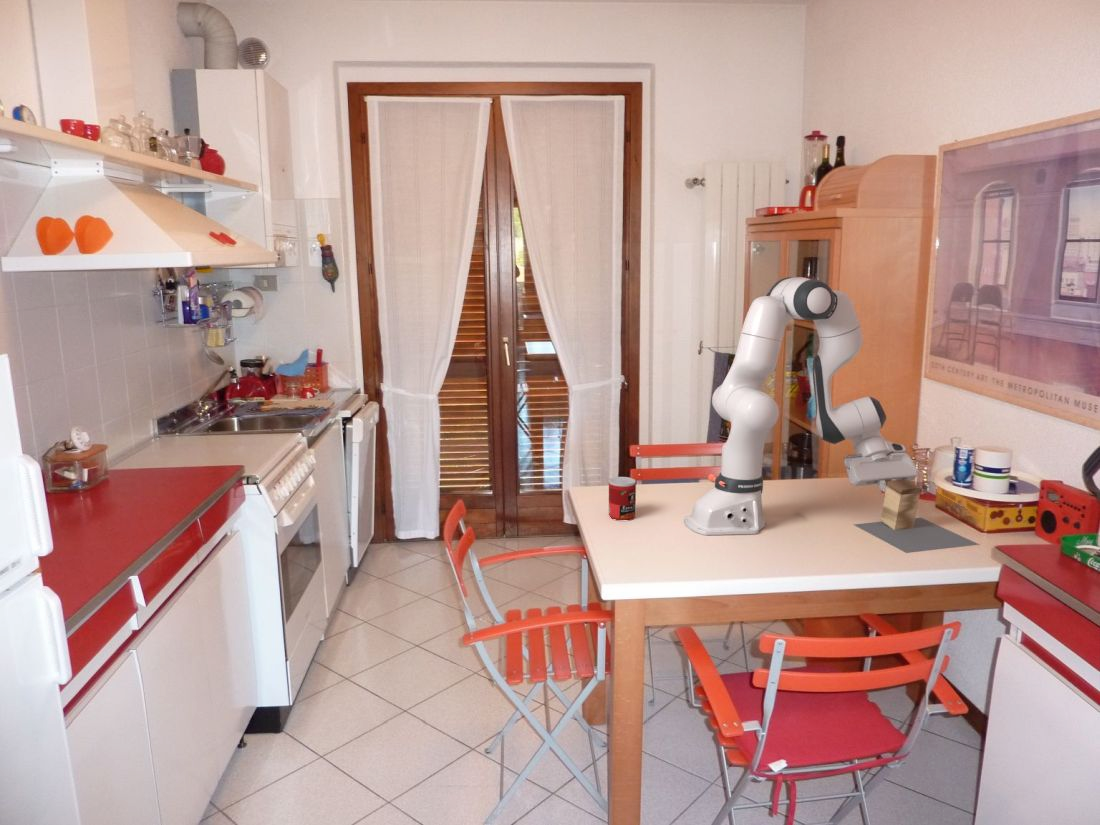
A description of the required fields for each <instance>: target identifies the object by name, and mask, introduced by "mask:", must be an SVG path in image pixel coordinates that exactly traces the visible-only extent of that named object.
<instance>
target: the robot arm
mask: <svg viewBox="0 0 1100 825" xmlns="http://www.w3.org/2000/svg"><path fill="white" fill-rule="evenodd" d="M853 305H854V304H853V303H852V301H851V299H850V297H849V295H848V294H847V293H846V292H844V291H841V290H838V289H837V290H836V289H835V290H832V288H831V287H830V286H829V285H828V284H827V283H826V282H824V281H821V280H819V279H815V278H813V279H811V278H807V277H803V276H799V277H798V276H797V277H790V276H789V277H785V278H781V279H780V280H778V281H776V282H774V284H773V285H772V286H771V287H770V289H769V291H768V292H767V294H765V295H763V296H759V297H756V298H755V299H754V300H753V301H752V302H751V304H750V306H749V308H748V311H747V313H746V316H745V319H744V322H743V325H742V327H741V331H740V336H739V340H738V343H737V348H736V350H735V355H734V357H733V358H734V359H733V361H732V364H731V366H730V368H729V371H728V373H727V375H725V376H726V377H725V378H724V380H723V382H722V383H721V384H720V385H719V386H718V387H717V388H716V389H715V390H714V392H713V394H712V396H711V397H712V398H711V404H712V407H713V409H714V411H715V412H716V413H717V414H718V416H720V418H722V419H723V420H725V421H728V423H730V430H729V434H728V437H727V440H726V442H724V443H723V444H722V447H721V462H720V464H721V467H720V473H719V474H718V476H717V475H715V474H714V473H710V474H709V475H708V477H707V479H708V480H709V481H710V482H711V483H714V486H713V487H712V488H711V489H710V490H708V491H707V492H705V493H704V494H702V496H700V497H699V498H697V500H695V502H694V504H693V508H692V513H691V515H686V516H684V519H683V523H684V525H685V526H686V527H687V528H688V529H690V530H691V531H693V532H695V533H698V534H701V535H703V536H716V535H717V536H718V535H719V536H722V535H726V536H727V535H728V536H729V535H749V534H750V535H756V534H758V533H759V532H760V530H761V529H763V528H764V527H766V521H765V517H764V513H763V512H764V511H763V503H762V502H763V501H762V495H763V494H762V493H763V490H764V476H763V474H762V473H763V460H764V459H763V456H764V449H765V448H764V447H765V443H766V441H767V437H768V435H769V432H770V430H771V429H772V428H773V427H775V425H776V424H777V422H778V420H779V416H780V408H779V406H778V403H777V402H776V401H775V400H774V398H772V397H771V396H770V395H769V394H767V393H766V392H764V391H761V389H762V386H763V384H764V383H765V381H766V379H767V377H768V376H769V375H771V374H772V373H773V372H774V371H775V369H776V366H777V363H778V358H779V356H780V350H781V346H782V343H783V342H782V341H783V340H784V339H783V338H784V333H785V330H786V328H787V325H788V323H790V321H791V320H792V319H795V320H807V321H813V322H814V325H815V327H816V331H817V336H818V338H819V339H818V340H819V346H818V347H819V348H818V351H817V354H816V355H814V357H813V359H812V378H813V379H812V380H813V391H814V400H815V402H814V403H815V427H816V431H817V434H818V435H819V437H820V439H821V440H823V441H824V442H826V443H829V444H833V445H835V444H838V443H841V442H843V441H845V440H847V439H848V440H850V441H851V443H852V446H853V450H854V454H848V455H845V457H844V458H843V459H842V460H843V463H844V467H845V468H846V473H847V477H848V480H849V482H850V484H851V485H853V486H854V487H861V486H873V485H876V486H877V488H878V489H879V490H881V491H882V492H884V494H885V493H886V487H887V481H892V480H903V479H907V480H909V481H910V482H912V481H913V480H915V479H916V478H917V476H918V474H919V471H918V468H917V467H916V464H915V462H914V460H913V459H912V457H911V456H910V454H908V453H906V451H907V448H906V447H905V445H904V444H901V443H896V442H893V441H889V440H886V439H885V437H884V436H883V435H882V433H881V431H880V430H881V429H883V427H884V425H885V423H886V421H887V415H886V413H885V410H884V408H883V406H882V404H881V402H880V400H878V399H877V398H874V397H871V396H864V397H861V398H858V399H857V398H856V399H854V400H852V401H849V402H846V403H843V404H840V405H836V406H833V402H832V393H831V392H832V391H831V390H832V389H831V381H832V378H833V377H834V375H836V373H837V372H838V371H840V369H841V368H844V367H845V366H846V365H847V364H849V362H851V361H852V360H853V359H855V357H856V356H857V355H858V354H859V352H860V351H861V348H863V347H862V346H863V343H864V341H863V340H864V339H863V332H862V329H861V325H860V322H859V321H860V320H859V319H858V315H857V312H856V309H855V308H854V306H853Z"/></svg>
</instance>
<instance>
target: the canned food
mask: <svg viewBox="0 0 1100 825" xmlns="http://www.w3.org/2000/svg"><path fill="white" fill-rule="evenodd" d="M636 482H637V481H636V479H634V478H631V477H629V476H628V477H627V476H615V477H614V476H613V477H611V478H610V479H609V480H608V516H610V517H611V518H612V520H613V519H616V520H615V521H617V520H629V521H631V520H630V519H632V520H634V519H635V516H636V506H637V505H636V499H637V498H636V496H637V494H636V493H637V483H636ZM610 517H609V518H610ZM611 518H610V519H611ZM633 518H634V519H633Z"/></svg>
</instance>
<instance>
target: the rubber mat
mask: <svg viewBox="0 0 1100 825" xmlns="http://www.w3.org/2000/svg"><path fill="white" fill-rule="evenodd" d="M852 525H853V526H855V527H857V528H859V529H861V530H862V531H865V532H867V533H868V534H870V535H872V536H873V537H875V538H878V539H879V540H881V541H883V542H885V543H887V544H889V545H890V546H892V547H894V548H896V549H898V550H900V551H902V552H904V553H906V554H909V553H910V554H911V553H918V552H926V551H935V550H944V549H945V550H946V549H952V548H954V549H955V548H963V547H969V546H977V545H979V546H980V543H977V542H975V541H973V540H971V539H968V538H967V537H964V536H962V535H960V534H958V533H955V532H953V531H952V530H949V529H947V528H945V527H942V526H940V525H938V524H936V523H934V522H931V521H929V520H927V519H925V518H922V517H915V523H914V528H910V529H901V530H894V529H892V528H891V527H889V526H888V525H886V524H885V523H884V522H882V521H874V522H865V523H856V524H852Z"/></svg>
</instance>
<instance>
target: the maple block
mask: <svg viewBox="0 0 1100 825" xmlns="http://www.w3.org/2000/svg"><path fill="white" fill-rule="evenodd" d="M886 486H887V487H886V493H885V492H884V500H883V504H882V511H881V518H880V522H884V523H885V524H886V525H888V526H889V527H891V528H892V529H894V530H901V529H910V528H914V523H915V518H917V517H916V516H917V511H918V505H919V501H920V496H921V490H922V487H920V486H918V485H917V484H916V483H914V482H912V481H909V480H907V479H903V480H892V481H887V483H886Z"/></svg>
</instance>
